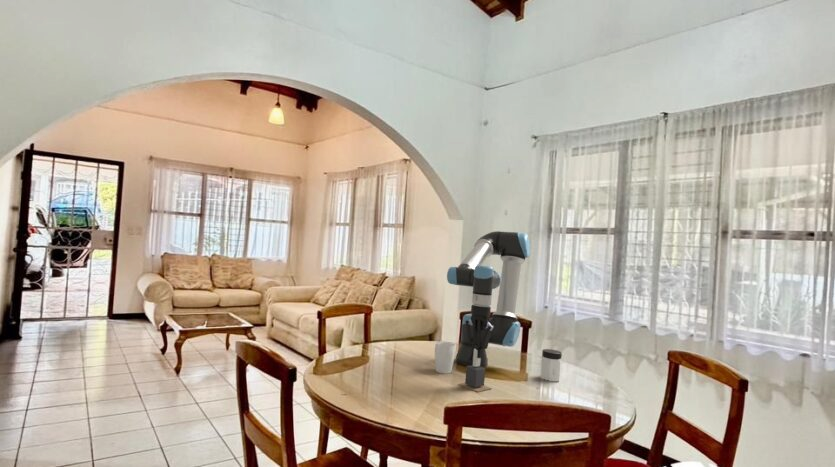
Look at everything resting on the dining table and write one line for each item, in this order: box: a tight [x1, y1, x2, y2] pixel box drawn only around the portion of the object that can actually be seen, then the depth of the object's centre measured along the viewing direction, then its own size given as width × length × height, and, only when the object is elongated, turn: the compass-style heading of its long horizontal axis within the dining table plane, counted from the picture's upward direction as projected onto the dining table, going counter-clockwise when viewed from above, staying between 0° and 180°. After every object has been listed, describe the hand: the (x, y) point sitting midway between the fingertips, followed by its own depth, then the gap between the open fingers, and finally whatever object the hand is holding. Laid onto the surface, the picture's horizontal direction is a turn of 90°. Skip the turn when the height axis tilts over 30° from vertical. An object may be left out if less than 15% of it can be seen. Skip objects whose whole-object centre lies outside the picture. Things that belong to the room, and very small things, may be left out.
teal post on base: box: [458, 381, 492, 393], centre depth 174 cm, size 10×8×7 cm
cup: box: [434, 340, 457, 375], centre depth 193 cm, size 9×9×12 cm
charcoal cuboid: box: [464, 365, 486, 387], centre depth 174 cm, size 5×5×7 cm
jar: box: [539, 348, 562, 382], centre depth 196 cm, size 9×8×12 cm
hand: (476, 365), depth 174 cm, fingers closed
